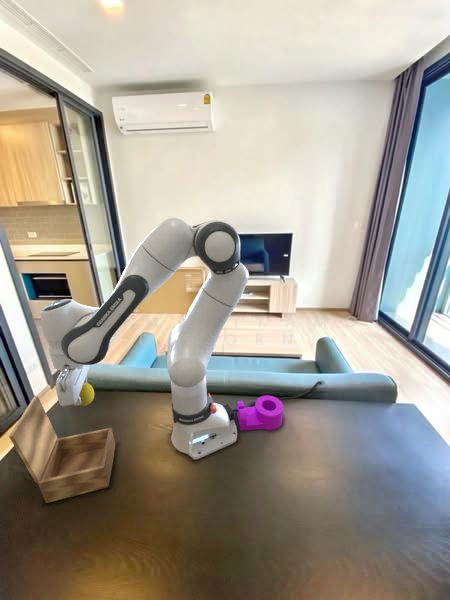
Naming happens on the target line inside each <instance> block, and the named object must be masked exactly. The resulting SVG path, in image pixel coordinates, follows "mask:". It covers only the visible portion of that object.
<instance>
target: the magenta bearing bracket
mask: <svg viewBox="0 0 450 600" xmlns="http://www.w3.org/2000/svg"><path fill="white" fill-rule="evenodd" d="M277 398H278V397H276V396H274V395H268V394H267V395H266V394H265V395H262V396H259V397H258V398H257V399H256V400H255V401H256V403H255V404H254V406H252V407H249V406H246V407H245V404H244V401H243V400H241V401H236V409H237V410H238V412H236V415H237V420H238V425H239V430H240V431H241V432H242V431H252V430H253V431H254V430H261V429H262V430H263V429H264V430H267V431H269V430H270V431H272V430H276V429H278V428H280V426H281V425H282V423H283V413H284V405H283V402H282V400H279V399H277Z"/></svg>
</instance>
